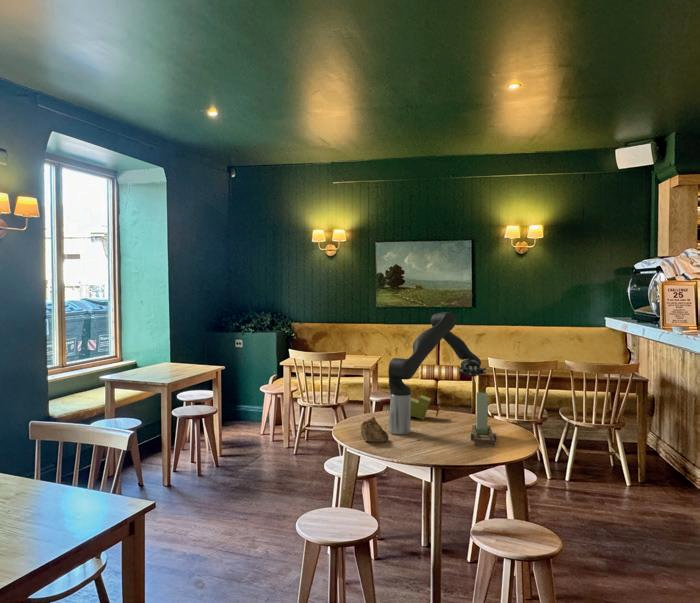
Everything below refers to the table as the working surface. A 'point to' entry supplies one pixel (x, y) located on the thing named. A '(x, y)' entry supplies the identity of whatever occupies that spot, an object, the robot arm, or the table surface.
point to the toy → (422, 407)
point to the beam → (483, 438)
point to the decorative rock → (373, 431)
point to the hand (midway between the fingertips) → (473, 372)
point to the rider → (482, 413)
